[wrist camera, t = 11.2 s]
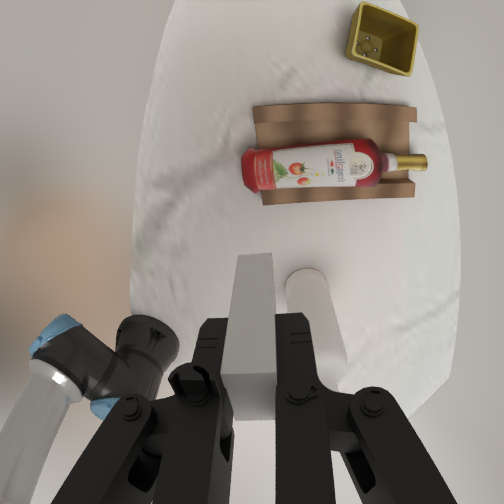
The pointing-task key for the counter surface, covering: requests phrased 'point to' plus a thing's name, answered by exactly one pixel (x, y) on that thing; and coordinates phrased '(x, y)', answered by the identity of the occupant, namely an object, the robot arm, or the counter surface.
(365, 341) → the counter surface
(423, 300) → the counter surface
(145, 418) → the robot arm
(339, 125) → the rest
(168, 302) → the counter surface
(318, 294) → the bottle
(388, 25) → the flower pot
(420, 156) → the liquor
